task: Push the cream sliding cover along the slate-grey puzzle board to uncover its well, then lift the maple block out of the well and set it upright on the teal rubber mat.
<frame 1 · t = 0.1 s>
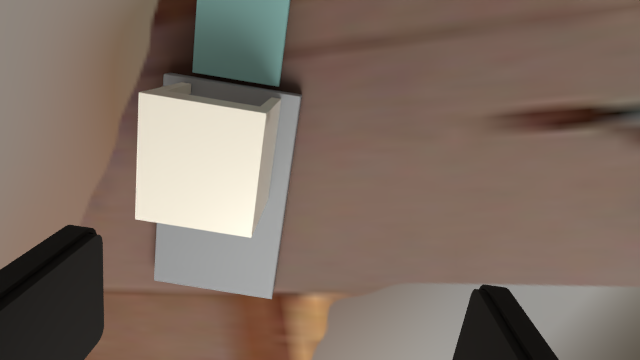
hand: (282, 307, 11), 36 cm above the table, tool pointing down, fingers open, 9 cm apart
teal mat: (241, 34, 43), on the table
sliding cover: (213, 154, 40), point 7 cm above the table, slide at 0.0 cm
puzzle board: (226, 189, 49), on the table
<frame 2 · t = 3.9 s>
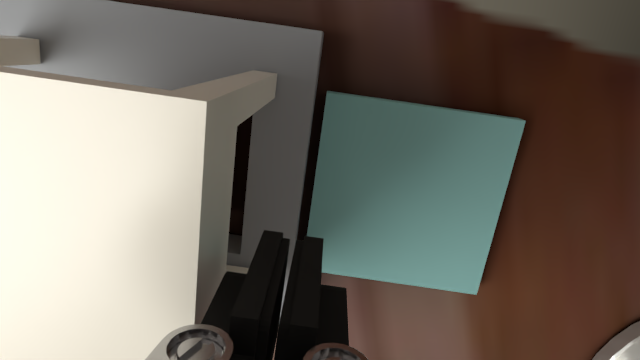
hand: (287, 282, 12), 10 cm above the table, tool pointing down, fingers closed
teal mat: (404, 194, 21), on the table
sliding cover: (81, 211, 14), point 7 cm above the table, slide at 1.1 cm, touching gripper
puzzle board: (66, 146, 21), on the table
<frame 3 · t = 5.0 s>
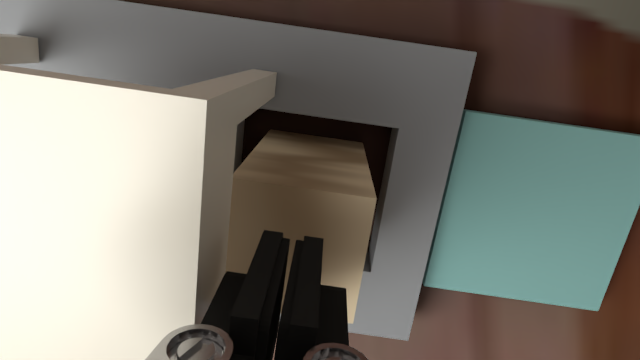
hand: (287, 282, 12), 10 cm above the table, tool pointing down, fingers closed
maple block: (310, 179, 21), resting in puzzle board
teal mat: (529, 211, 21), on the table
sliding cover: (81, 210, 14), point 7 cm above the table, slide at 7.4 cm, touching gripper
puzzle board: (191, 162, 21), on the table
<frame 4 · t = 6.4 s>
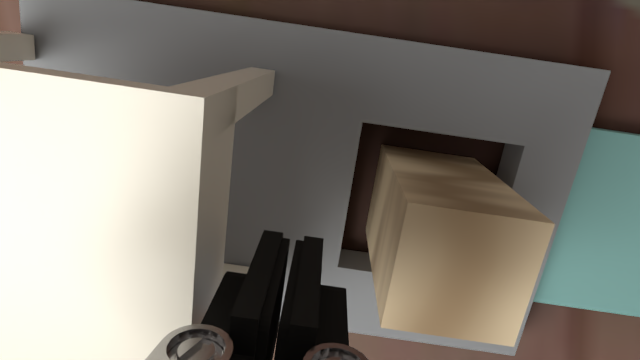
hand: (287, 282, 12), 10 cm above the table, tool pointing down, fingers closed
maple block: (417, 194, 21), resting in puzzle board
teal mat: (636, 227, 21), on the table
sliding cover: (77, 209, 14), point 7 cm above the table, slide at 12.9 cm, touching gripper
puzzle board: (298, 177, 21), on the table
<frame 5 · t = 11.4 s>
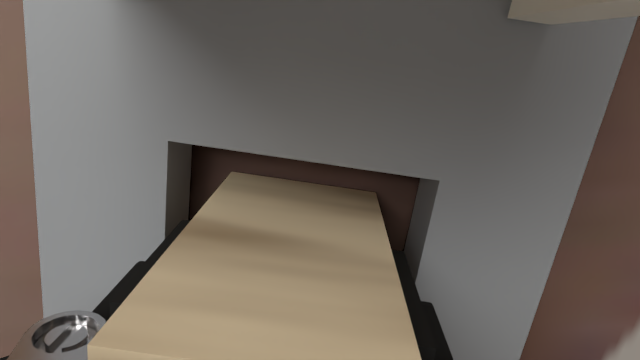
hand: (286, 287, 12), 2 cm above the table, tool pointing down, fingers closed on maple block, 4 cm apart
maple block: (294, 247, 14), resting in puzzle board, touching gripper
puzzle board: (320, 57, 12), on the table
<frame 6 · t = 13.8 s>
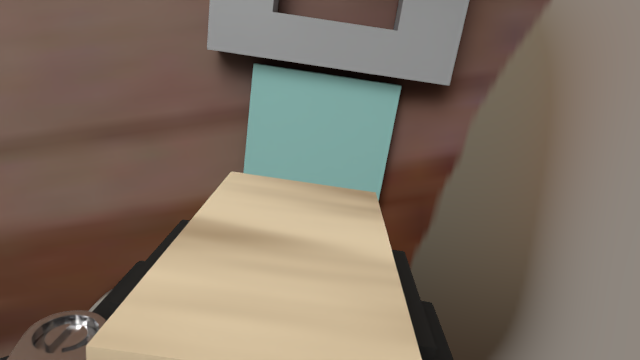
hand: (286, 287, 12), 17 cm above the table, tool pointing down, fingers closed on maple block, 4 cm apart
maple block: (294, 247, 14), point 15 cm above the table, touching gripper
teal mat: (317, 144, 28), on the table
when the fingers open (5 cm above the table, at t = 16.4 s): maple block drops 1 cm, resting on teal mat.
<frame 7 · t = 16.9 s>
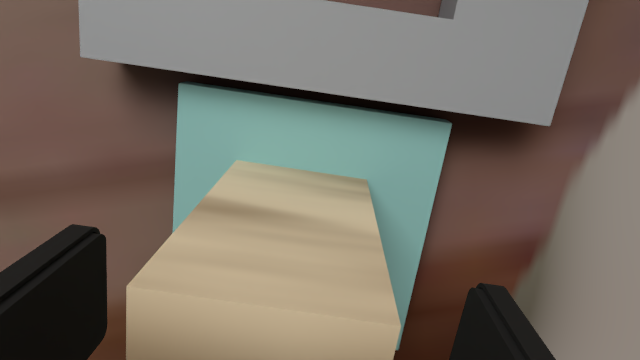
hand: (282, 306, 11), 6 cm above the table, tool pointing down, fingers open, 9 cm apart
maple block: (293, 229, 15), point 1 cm above the table, touching teal mat
teal mat: (300, 220, 16), on the table
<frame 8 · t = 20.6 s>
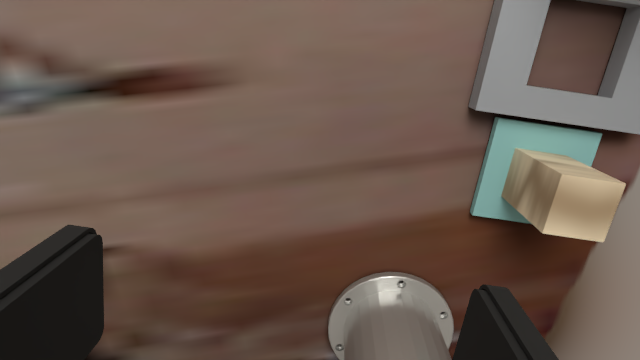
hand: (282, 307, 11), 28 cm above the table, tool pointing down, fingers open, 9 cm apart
maple block: (533, 176, 38), point 1 cm above the table, touching teal mat
teal mat: (531, 173, 38), on the table
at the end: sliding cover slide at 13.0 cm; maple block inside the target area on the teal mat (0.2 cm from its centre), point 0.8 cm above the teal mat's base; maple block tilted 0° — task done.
